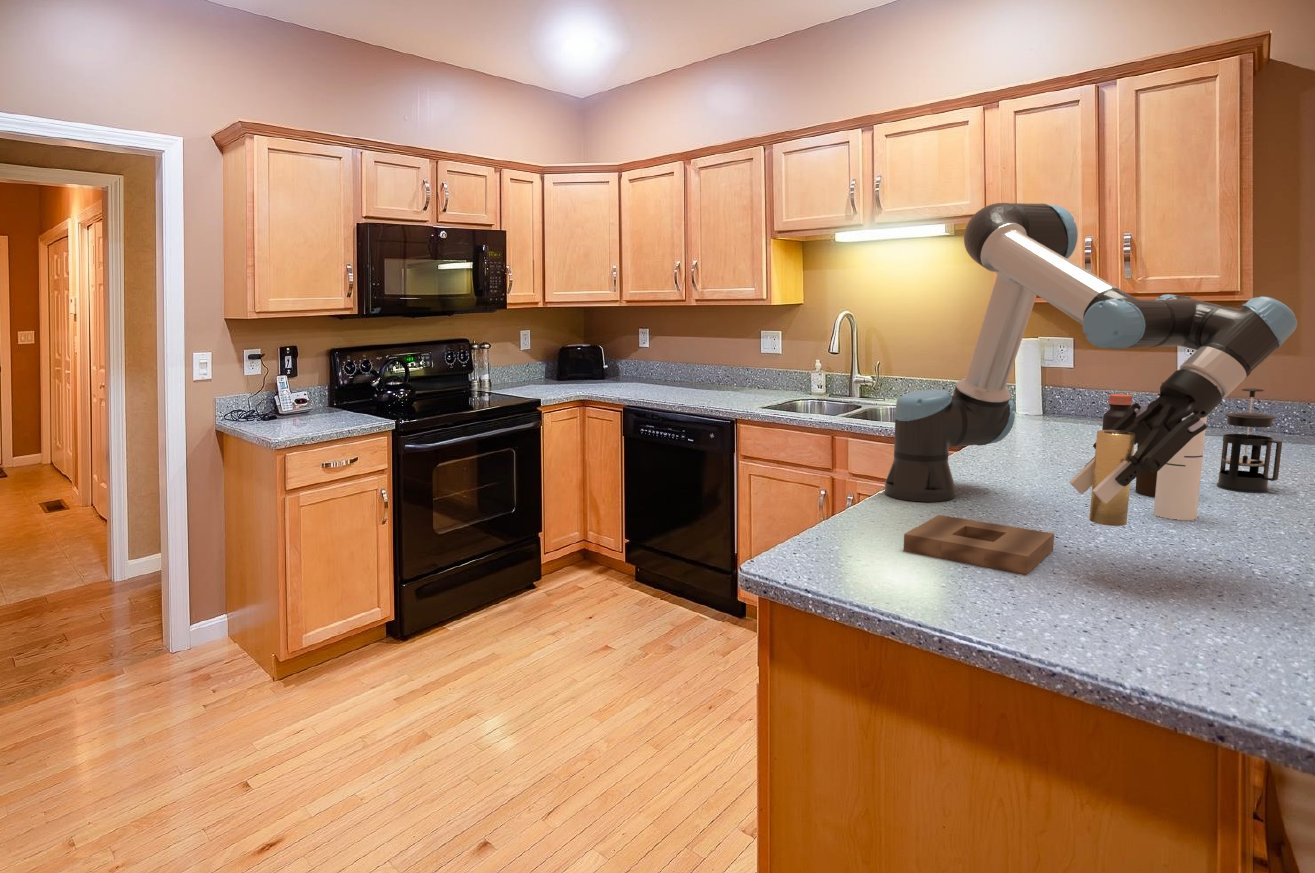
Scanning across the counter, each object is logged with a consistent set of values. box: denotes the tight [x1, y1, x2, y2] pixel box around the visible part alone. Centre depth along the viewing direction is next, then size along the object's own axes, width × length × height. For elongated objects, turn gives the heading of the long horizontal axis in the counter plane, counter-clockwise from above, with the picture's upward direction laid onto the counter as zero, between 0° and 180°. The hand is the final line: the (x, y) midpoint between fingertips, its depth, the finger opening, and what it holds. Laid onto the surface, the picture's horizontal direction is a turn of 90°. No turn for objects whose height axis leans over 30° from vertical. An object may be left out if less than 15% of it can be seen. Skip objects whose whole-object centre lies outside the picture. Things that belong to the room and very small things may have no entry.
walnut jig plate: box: [903, 514, 1055, 576], centre depth 131 cm, size 20×16×3 cm
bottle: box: [1101, 393, 1133, 430], centre depth 189 cm, size 7×7×20 cm
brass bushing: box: [1088, 429, 1136, 527], centre depth 116 cm, size 5×5×14 cm
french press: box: [1216, 387, 1283, 494], centre depth 172 cm, size 12×9×23 cm
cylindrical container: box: [1153, 415, 1208, 521], centre depth 150 cm, size 7×7×25 cm
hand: (1087, 492), depth 117 cm, fingers closed on brass bushing, 5 cm apart
